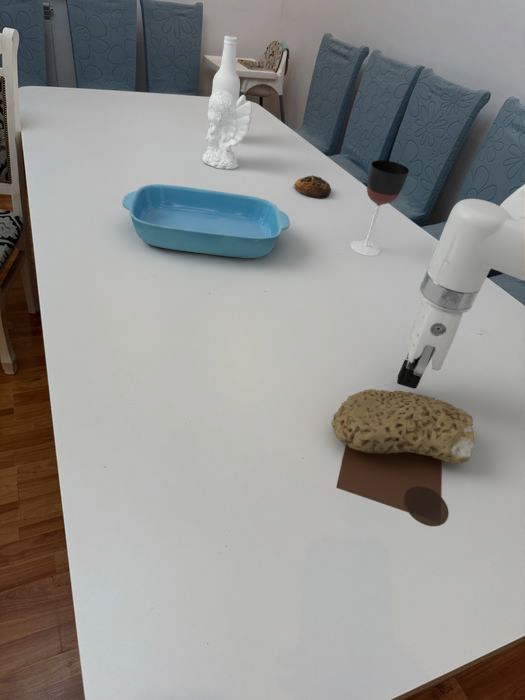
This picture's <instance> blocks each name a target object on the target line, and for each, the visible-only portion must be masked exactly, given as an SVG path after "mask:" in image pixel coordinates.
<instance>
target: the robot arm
mask: <svg viewBox="0 0 525 700" xmlns="http://www.w3.org/2000/svg"><path fill="white" fill-rule="evenodd" d="M491 270H494V271H498V272H499V273H502V274H505V275H507V276H510V277H512V278H515V279H518V280H521V281H525V183H524V184H522V185H521V186H520V187H519V188H517V189H516V190H515V191H514V192H513V193H511V194H510V195H509V196H508V197H507V198H505V199H504V200H503V201H502V203H500V205H498V204H496V203H493V202H492V201H488V200H485V199H479V198H464V199H462V200H460V201H458V202H457V203H455V204H454V206H453V207H452V209H451V211H450V213H449V215H448V217H447V220H446V223H445V224H444V228H443V230H442V233H441V235H440V237H439V240H438V242H437V244H436V247H435V249H434V252H433V254H432V257H431V259H430V261H429V264H428V267H427V269H426V271H425V274H424V277H423V279H422V281H421V283H420V286H419V289H418V293H419V296H420V298H421V299H422V300H421V302H420V305H419V307H418V309H417V312H416V314H415V316H414V318H413V319H414V320H413V322H412V324H411V329H410V334H409V342H408V352H407V355H406V359H404V360H403V362H402V365H401V367H400V370H399V371H398V375H397V381H396V384H397V385H400V386H403V387H407V388H410V389H413V390H415V389H417V388H418V387H419V386H418V385H419V383H420V382H421V379H422V377H423V376H424V373H425V370H426V369H427V367H428V366H429V363H430V361H431V364H432V365H431V366H432V370H435V371H436V372H437V371H440V370H441V369H442V367H443V364H444V362H445V360H446V358H447V355H448V353H449V351H450V348H451V346H452V344H453V341H454V339H455V337H456V334H457V331H458V330H459V326H460V324H461V321H462V317H463V314H464V313H467V312H469V311H470V310H471V309H472V307H473V305H474V303H475V301H476V299H477V297H478V295H479V293H480V291H481V289H482V287H483V285H484V283H485V281H486V279H487V277H488V275H489V273H490V271H491Z"/></svg>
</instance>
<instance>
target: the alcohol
mask: <svg viewBox="0 0 525 700" xmlns="http://www.w3.org/2000/svg"><path fill="white" fill-rule="evenodd" d="M223 38H224V40H223V49H222V55H221V61H220V67H219V69H218V70H217V72H216V73H215V74H214V76H213V79H212V87H211V95H212V94H213V93H216V92H217V91H226V92H229V93H230V94H231V95H232V96H233V97H234V99H235V103H236V102H237V101H238V99H239V98H240V92H241V79H240V77H239V75H238V73H237V68H236V66H237V65H236V64H237V45H238V43H237V41H238V38H237V37H236V36H234V35H225V36H224V37H223ZM210 125H212V126H214V124H213V123H212V122H210V121H209V128H210ZM209 128H208V129H209Z"/></svg>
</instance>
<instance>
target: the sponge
mask: <svg viewBox="0 0 525 700" xmlns="http://www.w3.org/2000/svg"><path fill="white" fill-rule="evenodd" d="M330 424H331V427H332V430H333V433H334V434H335V436H336V438H337V440H338V441H340V442H341V443H342V444H344V445H345V446H346V445H348V446H349V447H350V448H352V449H355V450H360V451H363V452H367V453H376V452H377V453H391V452H392V453H399V452H414V453H417V454H423V455H428V456H432V457H434V458H436V459H440V460H442V462H445V463H451V464H452V463H455V464H456V463H466V462H468V461H469V460H470V459H471V456H472V453H473V450H474V449H475V431H474V429H473V426H474V419H473V416H472V415H471V414H470V413H469V412H467V411H465V410H464V409H461V408H459V407H456V406H454V405H452V404H451V403H449V402H447V401H444V400H441V399H435V397H431V396H427V395H423V394H418V393H414V392H411V391H409V392H407V391H402V390H394V391H389V390H383V389H381V390H379V389H375V388H374V389H373V388H371V389H370V388H369V389H364V390H363V391H358V392H356V393H354V394H352V395H349V396H347V399H346V400H345V401H344V402H342V403H341V405H340V407H338V411H336V412H335V413H334V414H333V418H332V420H331V423H330Z"/></svg>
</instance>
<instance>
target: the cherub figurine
mask: <svg viewBox="0 0 525 700" xmlns="http://www.w3.org/2000/svg"><path fill="white" fill-rule="evenodd" d="M246 98H247V97H246V95H244V94H242V95H240V96H239V99H238V101H237V102H236V103H235V99H234V97H233V96H232V95H231V94H230V93H229V92H226V91H217V92H216V93H213V94H212V93H211V95H210V97H209V99H208V106H207V107H208V108H207V115H206V117H207V120H208V122H209V123H210V122H212V123H213V124H214V126H212V125H210V124H209V126H210V128H208V130H207V134H206V136H205V141H206V142H208V144H209V146H207V148H206V150H205V152H204V153H203V154H202V155H201V160H202V162H203V163H204V164H206V165H209V166H211V167H212V168H215V169H220V170H223V169H224V170H235V169H236V168H238V167H239V164H238V161H237V159H236V158H235V157H236V155H235V152H233V150H232V147H236V146H237V145H238V144H239V143H241V142H242V141H244V138H245V137H246V136H247V134H248V132H249V131H250V125H251V123H252V117H251V115H252V113H253V104H252V102H251V101H248V102H246V100H247V99H246Z"/></svg>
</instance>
